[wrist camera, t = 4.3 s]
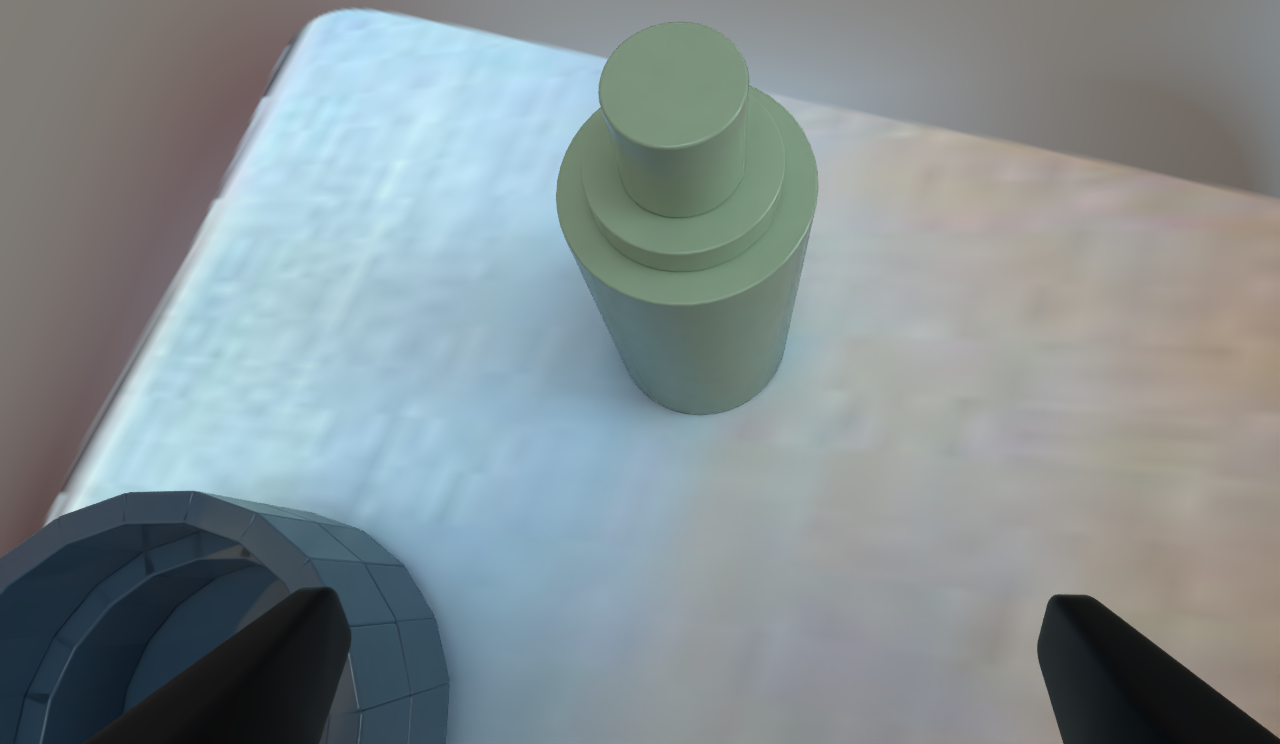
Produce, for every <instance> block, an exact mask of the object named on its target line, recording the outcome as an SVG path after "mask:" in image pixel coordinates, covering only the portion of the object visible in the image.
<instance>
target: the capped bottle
mask: <svg viewBox="0 0 1280 744" xmlns="http://www.w3.org/2000/svg"><path fill="white" fill-rule="evenodd" d="M598 93H599V102H600V106H601V108H599V109H598V110H597V111H596V112H595V113H594V114H593V115H592V116H591V117H590V118H589V119H588V120H587V121H586V122H585V123H584V124H583V126H582V127H581V128H580V130H579V131H578V132H577V134H576V135H575V137H574V138H573V140H572V142H571V144H570V145H569V147H568V149H567V151H566V153H565V156H564V159H563V161H562V164H561V167H560V171H559V176H558V180H557V191H556V202H557V213H558V218H559V222H560V226H561V229H562V232H563V234H564V237H565V239H566V242H567V244H568V246H569V248H570V250H571V252H572V254H573V256H574V259H575V261H576V263H577V265H578V267H579V269H580V271H581V273H582V276H583V278H584V280H585V282H586V284H587V286H588V288H589V290H590V293H591V295H592V297H593V299H594V301H595V303H596V305H597V307H598V310H599V312H600V314H601V316H602V318H603V320H604V322H605V324H606V326H607V329H608V331H609V333H610V335H611V337H612V339H613V341H614V343H615V346H616V348H617V350H618V352H619V354H620V356H621V358H622V360H623V363H624V365H625V367H626V369H627V371H628V373H629V374H630V376H631V378H632V379H633V381H634V382H635V383H636V385H637V386H638V387H639V388H640V389H641V390H642V391H643V392H644V393H645V394H646V395H647V396H649V397H650V398H651V399H653V400H654V401H656V402H657V403H659V404H661V405H663V406H665V407H667V408H670V409H672V410H675V411H679V412H683V413H689V414H714V413H720V412H723V411H727V410H730V409H733V408H735V407H738V406H740V405H742V404H744V403H745V402H747V401H749V400H750V399H752V398H753V397H754V396H756V395H757V394H758V393H759V392H760V391H761V390H762V389H763V388H764V387H765V386H766V385H767V384H768V383H769V381H770V380H771V379H772V378H773V376H774V374H775V372H776V371H777V369H778V367H779V364H780V362H781V360H782V356H783V353H784V349H785V344H786V340H787V335H788V331H789V326H790V322H791V317H792V313H793V308H794V303H795V299H796V294H797V290H798V285H799V281H800V276H801V272H802V267H803V263H804V258H805V254H806V249H807V245H808V240H809V236H810V231H811V227H812V222H813V218H814V213H815V208H816V204H817V195H818V171H817V166H816V161H815V157H814V154H813V151H812V148H811V146H810V143H809V141H808V139H807V137H806V135H805V134H804V132H803V130H802V128H801V127H800V126H799V124H798V123H797V122H796V120H795V119H794V118H793V116H792V115H791V114H790V113H789V112H788V111H787V110H786V109H785V108H784V107H783V106H782V105H781V104H779V103H778V102H777V101H775V100H774V99H773V98H771V97H770V96H769V95H767V94H765V93H763V92H762V91H760V90H758V89H757V88H754V87H752V86H750V85H749V73H748V69H747V65H746V62H745V60H744V58H743V56H742V54H741V52H740V51H739V50H738V49H737V47H736V46H735V44H734V43H732V41H731V40H730V39H728V38H727V37H725V36H724V35H723V34H722V33H720V32H718V31H716V30H715V29H712V28H710V27H707V26H704V25H700V24H696V23H690V22H669V23H663V24H659V25H655V26H651V27H649V28H646V29H644V30H641V31H640V32H638V33H636V34H634V35H632V36H631V37H629V38H628V39H626V40H625V41H624V42H623V43H622V44H621V45H619V46H618V48H617V49H616V50H615V51H614V52H613V53H612V55H611V56H610V57H609V59H608V61H607V63H606V64H605V66H604V69H603V71H602V74H601V77H600V82H599V92H598Z"/></svg>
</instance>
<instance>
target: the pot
mask: <svg viewBox="0 0 1280 744" xmlns="http://www.w3.org/2000/svg"><path fill="white" fill-rule="evenodd" d="M305 586H329V587H332V588H333V589H334V590H335V591H336V592H337V594H338V596H339V598H340V601H341V604H342V606H343V609H344V612H345V614H346V617H347V620H348V622H349V625H350V628H351V634H352V641H351V647H350V650H349V654H348V657H347V660H346V663H345V666H344V669H343V672H342V675H341V678H340V681H339V684H338V687H337V691H336V694H335V697H334V700H333V703H332V706H331V709H330V712H329V715H328V718H327V721H326V724H325V728H324V731H323V734H322V737H321V740H320V743H319V744H446V731H447V716H448V700H449V676H448V672H447V667H446V663H445V658H444V654H443V649H442V645H441V640H440V636H439V631H438V627H437V622H436V619H434V615H433V613H432V612H431V610H430V608H429V607H428V605H427V603H426V601H425V600H424V598H423V596H422V595H421V593H420V591H419V590H418V588H417V586H416V584H415V583H414V581H413V579H412V578H411V576H410V574H409V573H408V571H407V569H406V568H405V567H404V565H403V564H402V563H401V562H400V561H399V560H397V559H396V558H395V557H394V556H393V555H391V554H390V553H389V552H388V551H387V550H385V549H384V548H383V547H382V546H381V545H379V544H378V543H377V542H376V541H375V540H373V539H372V538H371V537H370V536H369V535H367V534H366V533H365V532H364V531H362V530H360V529H358V528H355V527H352V526H349V525H346V524H343V523H341V522H338V521H335V520H332V519H329V518H326V517H323V516H320V515H317V514H315V513H311V512H306V511H300V510H295V509H290V508H284V507H279V506H273V505H268V504H262V503H258V502H252V501H247V500H242V499H236V498H231V497H226V496H220V495H215V494H209V493H204V492H199V491H159V492H130V493H124V494H121V495H119V496H116V497H113V498H110V499H107V500H105V501H102V502H99V503H96V504H93V505H90V506H88V507H85V508H82V509H79V510H76V511H74V512H71V513H68V514H65V515H62V516H60V517H59V518H58V519H55V520H53V521H52V522H50V523H49V524H48V525H46V526H45V527H43V528H42V529H41V530H39V531H38V532H36V533H35V534H34V535H32V536H31V537H29V538H28V539H26V540H25V541H24V542H22V543H21V544H19V545H18V546H17V547H15V548H14V549H12V550H11V551H9V552H8V553H7V554H5V555H4V556H2V557H1V558H0V744H82V743H84V742H85V741H86V740H88V739H89V738H91V737H92V736H93V735H95V734H96V733H98V732H99V731H100V730H102V729H103V728H105V727H106V726H107V725H109V724H110V723H112V722H113V721H114V720H116V719H117V718H119V717H120V716H121V715H123V714H124V713H126V712H127V711H128V710H130V709H131V708H133V707H134V706H135V705H137V704H138V703H140V702H141V701H142V700H144V699H145V698H147V697H148V696H149V695H151V694H152V693H154V692H155V691H156V690H158V689H159V688H161V687H162V686H163V685H165V684H166V683H167V682H169V681H170V680H172V679H173V678H174V677H176V676H177V675H179V674H180V673H181V672H183V671H184V670H186V669H187V668H188V667H190V666H191V665H193V664H194V663H195V662H197V661H198V660H200V659H201V658H202V657H204V656H205V655H207V654H208V653H209V652H211V651H212V650H214V649H215V648H216V647H218V646H219V645H221V644H222V643H223V642H225V641H226V640H228V639H229V638H230V637H232V636H233V635H235V634H236V633H237V632H239V631H240V630H241V629H243V628H244V627H246V626H247V625H248V624H250V623H251V622H253V621H254V620H255V619H257V618H258V617H260V616H261V615H262V614H264V613H265V612H267V611H268V610H269V609H271V608H272V607H274V606H275V605H276V604H278V603H279V602H281V601H282V600H283V599H285V598H286V597H288V596H289V595H290V594H292V593H293V592H295V591H296V590H298V589H299V588H302V587H305Z"/></svg>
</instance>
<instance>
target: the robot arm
mask: <svg viewBox="0 0 1280 744" xmlns="http://www.w3.org/2000/svg"><path fill="white" fill-rule="evenodd" d="M351 641H352V634H351V628H350V625H349V622H348V620H347V617H346V614H345V612H344V609H343V606H342V604H341V601H340V598H339V596H338V594H337V592H336V591H335V590H334V589H333V588H332V587H329V586H305V587H302V588H299V589H298V590H296V591H295V592H293V593H292V594H290V595H289V596H288V597H286V598H285V599H283V600H282V601H281V602H279V603H278V604H276V605H275V606H274V607H272V608H271V609H269V610H268V611H267V612H265V613H264V614H262V615H261V616H260V617H258V618H257V619H255V620H254V621H253V622H251V623H250V624H248V625H247V626H246V627H244V628H243V629H241V630H240V631H239V632H237V633H236V634H235V635H233V636H232V637H230V638H229V639H228V640H226V641H225V642H223V643H222V644H221V645H219V646H218V647H216V648H215V649H214V650H212V651H211V652H209V653H208V654H207V655H205V656H204V657H202V658H201V659H200V660H198V661H197V662H195V663H194V664H193V665H191V666H190V667H188V668H187V669H186V670H184V671H183V672H181V673H180V674H179V675H177V676H176V677H174V678H173V679H172V680H170V681H169V682H167V683H166V684H165V685H163V686H162V687H161V688H159V689H158V690H156V691H155V692H154V693H152V694H151V695H149V696H148V697H147V698H145V699H144V700H142V701H141V702H140V703H138V704H137V705H135V706H134V707H133V708H131V709H130V710H128V711H127V712H126V713H124V714H123V715H121V716H120V717H119V718H117V719H116V720H114V721H113V722H112V723H110V724H109V725H107V726H106V727H105V728H103V729H102V730H100V731H99V732H98V733H96V734H95V735H93V736H92V737H91V738H89V739H88V740H86V741H85V742H84V743H82V744H319V743H320V740H321V737H322V734H323V731H324V728H325V724H326V721H327V718H328V715H329V712H330V709H331V706H332V703H333V700H334V697H335V694H336V691H337V687H338V684H339V681H340V678H341V675H342V672H343V669H344V666H345V663H346V660H347V657H348V654H349V650H350V647H351ZM1037 652H1038V659H1039V664H1040V667H1041V671H1042V674H1043V677H1044V680H1045V684H1046V687H1047V690H1048V694H1049V697H1050V700H1051V704H1052V707H1053V710H1054V714H1055V717H1056V720H1057V724H1058V727H1059V730H1060V734H1061V737H1062V740H1063V743H1064V744H1280V739H1279V738H1278V737H1276V736H1275V735H1274V734H1273V733H1271V732H1270V731H1269V730H1267V729H1266V728H1265V727H1263V726H1262V725H1261V724H1259V723H1258V722H1257V721H1255V720H1254V719H1253V718H1251V717H1250V716H1249V715H1248V714H1246V713H1245V712H1244V711H1242V710H1241V709H1240V708H1238V707H1237V706H1236V705H1234V704H1233V703H1232V702H1230V701H1229V700H1228V699H1227V698H1225V697H1224V696H1223V695H1221V694H1220V693H1219V692H1217V691H1216V690H1215V689H1213V688H1212V687H1211V686H1209V685H1208V684H1207V683H1205V682H1204V681H1203V680H1202V679H1200V678H1199V677H1198V676H1196V675H1195V674H1194V673H1192V672H1191V671H1190V670H1188V669H1187V668H1186V667H1184V666H1183V665H1182V664H1181V663H1179V662H1178V661H1177V660H1175V659H1174V658H1173V657H1171V656H1170V655H1169V654H1167V653H1166V652H1165V651H1163V650H1162V649H1161V648H1159V647H1158V646H1157V645H1156V644H1154V643H1153V642H1152V641H1150V640H1149V639H1148V638H1146V637H1145V636H1144V635H1142V634H1141V633H1140V632H1138V631H1137V630H1136V629H1134V628H1133V627H1132V626H1131V625H1129V624H1128V623H1127V622H1125V621H1124V620H1123V619H1121V618H1120V617H1119V616H1117V615H1116V614H1115V613H1113V612H1112V611H1111V610H1110V609H1108V608H1107V607H1106V606H1104V605H1103V604H1102V603H1100V602H1099V601H1098V600H1096V599H1095V598H1093V597H1091V596H1088V595H1062V594H1058V595H1054V596H1052V597H1051V598H1050V600H1049V602H1048V604H1047V608H1046V612H1045V615H1044V619H1043V623H1042V627H1041V631H1040V635H1039V639H1038V644H1037Z"/></svg>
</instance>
